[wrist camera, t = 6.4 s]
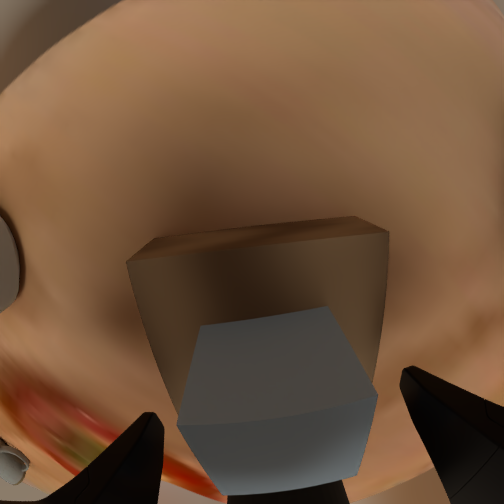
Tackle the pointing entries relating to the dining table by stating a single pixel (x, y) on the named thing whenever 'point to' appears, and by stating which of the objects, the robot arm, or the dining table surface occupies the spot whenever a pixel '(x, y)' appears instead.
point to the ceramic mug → (12, 464)
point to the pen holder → (297, 496)
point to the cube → (276, 403)
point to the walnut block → (260, 284)
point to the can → (8, 267)
